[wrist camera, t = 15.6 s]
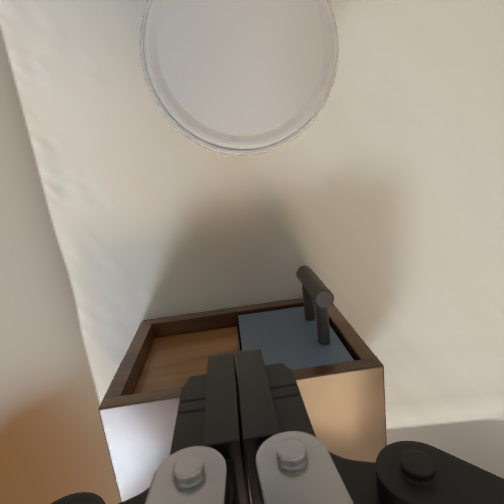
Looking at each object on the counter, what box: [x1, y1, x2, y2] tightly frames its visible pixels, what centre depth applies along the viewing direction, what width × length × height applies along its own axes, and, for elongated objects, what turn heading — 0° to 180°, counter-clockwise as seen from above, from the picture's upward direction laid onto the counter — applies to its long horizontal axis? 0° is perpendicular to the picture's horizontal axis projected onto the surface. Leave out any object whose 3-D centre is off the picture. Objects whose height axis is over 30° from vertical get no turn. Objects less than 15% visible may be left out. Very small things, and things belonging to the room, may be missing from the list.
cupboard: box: [99, 298, 387, 504], centre depth 28 cm, size 10×16×12 cm, turn 97°
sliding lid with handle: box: [238, 266, 354, 370], centre depth 26 cm, size 5×7×9 cm
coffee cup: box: [140, 0, 339, 155], centre depth 23 cm, size 9×9×12 cm
